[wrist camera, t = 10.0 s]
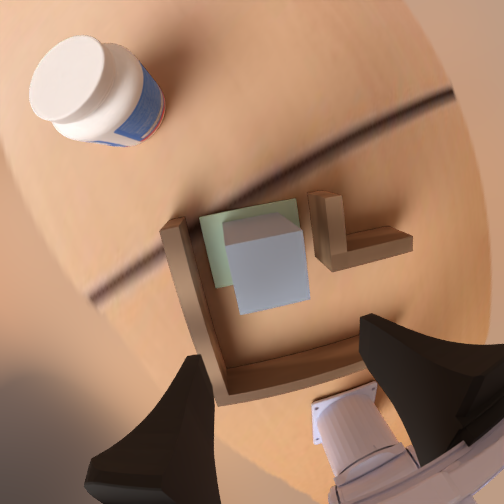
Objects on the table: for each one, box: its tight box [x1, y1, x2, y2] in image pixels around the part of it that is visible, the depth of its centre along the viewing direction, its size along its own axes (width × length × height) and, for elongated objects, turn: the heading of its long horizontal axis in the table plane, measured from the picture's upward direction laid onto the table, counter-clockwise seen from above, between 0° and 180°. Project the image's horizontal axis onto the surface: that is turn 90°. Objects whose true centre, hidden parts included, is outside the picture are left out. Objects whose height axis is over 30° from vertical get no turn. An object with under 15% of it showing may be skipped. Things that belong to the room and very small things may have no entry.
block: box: [222, 212, 310, 315], centre depth 17 cm, size 4×4×6 cm
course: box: [160, 190, 413, 407], centre depth 20 cm, size 15×17×4 cm
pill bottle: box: [29, 35, 165, 147], centre depth 12 cm, size 6×5×10 cm
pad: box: [199, 198, 300, 288], centre depth 20 cm, size 6×7×1 cm
